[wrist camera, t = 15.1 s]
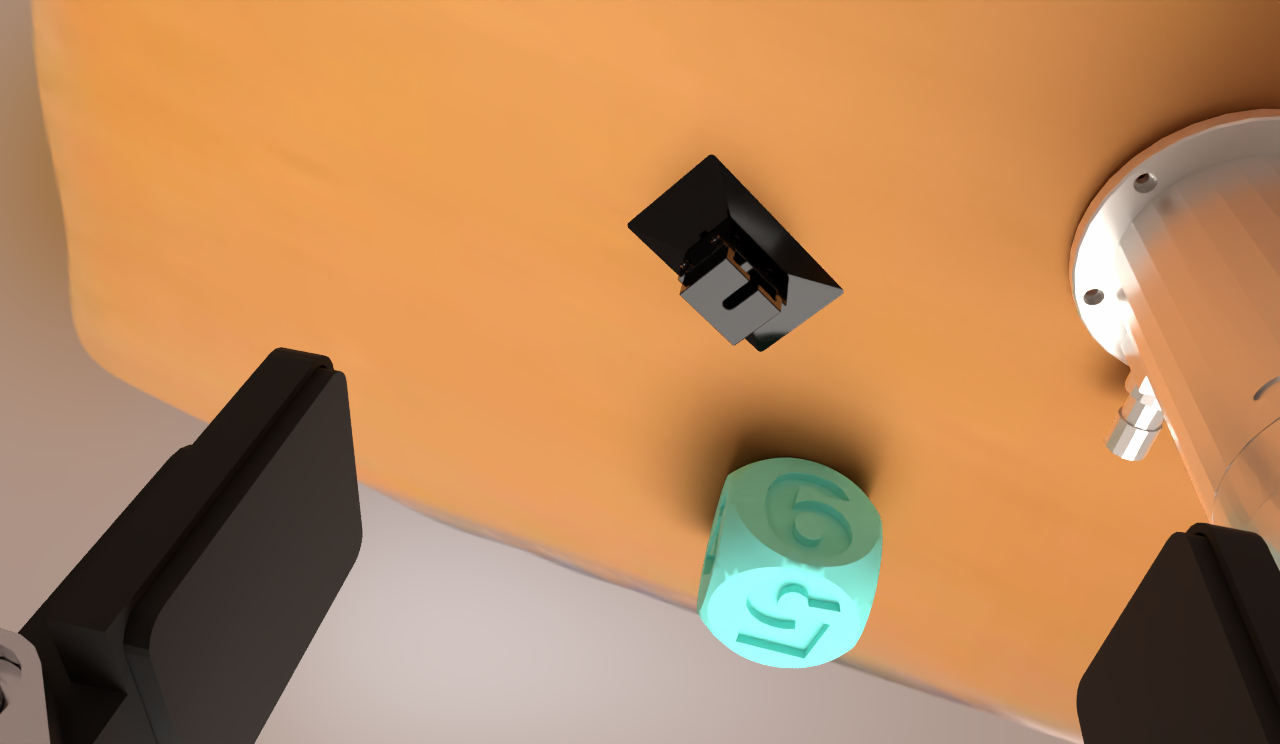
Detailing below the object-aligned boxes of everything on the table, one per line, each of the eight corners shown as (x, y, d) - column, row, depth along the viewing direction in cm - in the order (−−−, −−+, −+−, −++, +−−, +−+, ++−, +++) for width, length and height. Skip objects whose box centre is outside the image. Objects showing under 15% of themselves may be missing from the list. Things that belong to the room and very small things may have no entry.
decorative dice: (706, 539, 57) (689, 648, 51) (737, 440, 52) (722, 547, 46) (838, 572, 57) (837, 685, 50) (881, 475, 52) (886, 587, 45)
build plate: (879, 298, 46) (883, 351, 43) (765, 375, 50) (759, 430, 46) (703, 113, 42) (690, 153, 39) (593, 211, 46) (572, 257, 42)
